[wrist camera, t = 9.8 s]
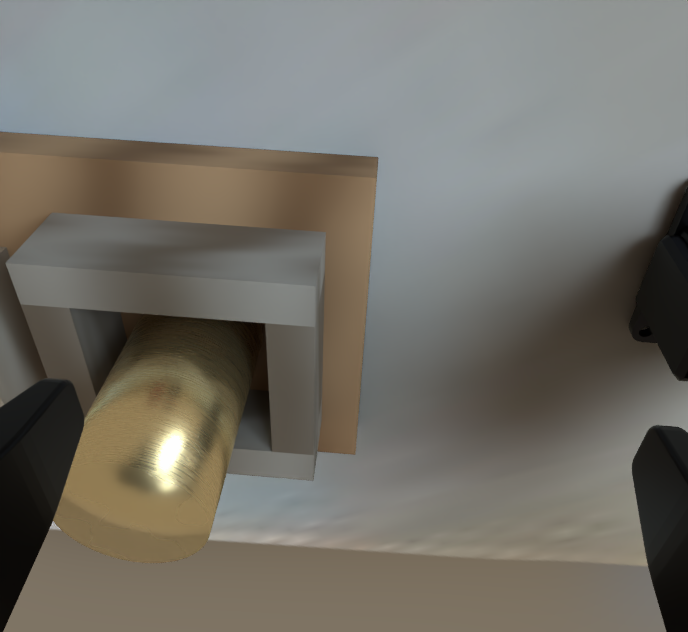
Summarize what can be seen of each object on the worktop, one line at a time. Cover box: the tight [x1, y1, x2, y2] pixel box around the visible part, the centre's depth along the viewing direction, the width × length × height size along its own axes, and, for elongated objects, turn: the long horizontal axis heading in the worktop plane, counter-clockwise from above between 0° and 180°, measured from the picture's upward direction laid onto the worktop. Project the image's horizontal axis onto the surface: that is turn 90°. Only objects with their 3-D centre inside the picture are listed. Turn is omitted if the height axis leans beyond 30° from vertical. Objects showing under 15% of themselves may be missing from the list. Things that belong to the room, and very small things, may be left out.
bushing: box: [53, 314, 263, 563], centre depth 19 cm, size 4×4×8 cm
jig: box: [0, 132, 378, 481], centre depth 22 cm, size 18×13×4 cm
